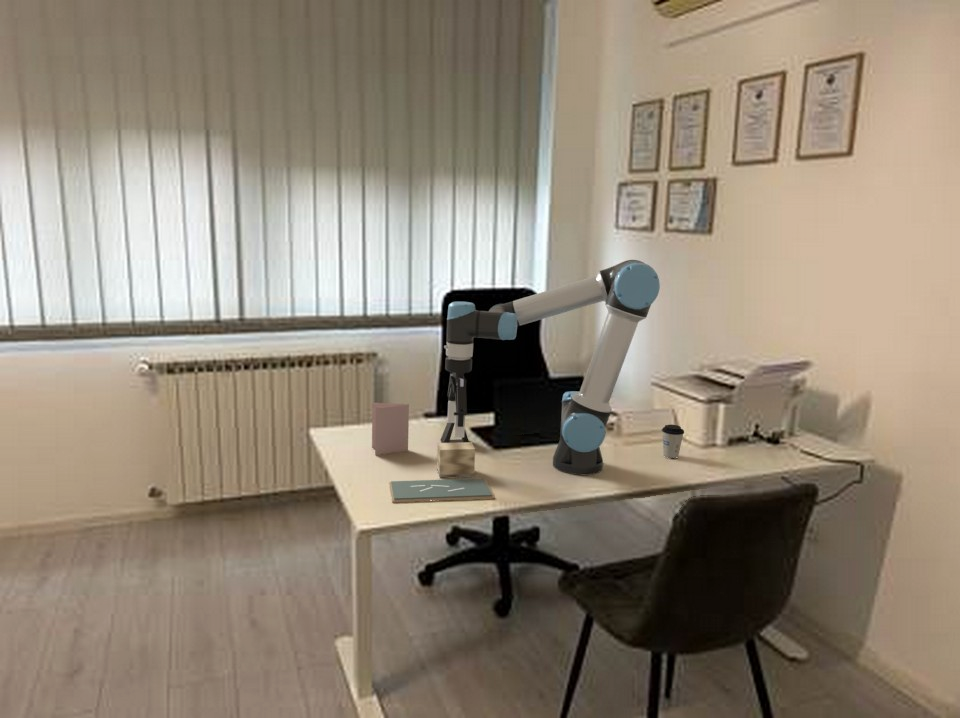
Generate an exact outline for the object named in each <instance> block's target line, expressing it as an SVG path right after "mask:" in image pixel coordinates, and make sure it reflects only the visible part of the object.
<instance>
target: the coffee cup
mask: <svg viewBox="0 0 960 718" xmlns="http://www.w3.org/2000/svg"><path fill="white" fill-rule="evenodd" d="M661 431H662V454H663V455H662V456H663V457H664V456H665V457H668V458H676V457H678V458H679V455H680V452H681V451H680V449H681V447H682V446H681V445H682V440H683V436H684V434H685V430H684V429H683V428H682V427H681V425H677V424H665V425H664V427H662V429H661ZM665 457H664V458H665ZM668 458H667V459H668Z"/></svg>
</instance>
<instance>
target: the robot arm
mask: <svg viewBox="0 0 960 718" xmlns="http://www.w3.org/2000/svg"><path fill="white" fill-rule="evenodd" d="M660 286H661V284H660V278H659V275H658V274H657V272H656V270H655V269H654V268H653V267H652V266H651V265H649V264H646V263H645V262H643V261H641V260H638V259H628V260H627V259H626V260H624V261H622V262H620V263H617V264H615V265H613V266H609V267H608V268H604V269H602V270H598V272H597V273H596V274H595V275H594V276H590V277H587V278H585V279H580V280H578V281H574V282H571V283H568V284H564V285H562V286H559V287H555V288H552V289H548V290H546V291H541V292H538V293H535V294H532V295H529V296H525V297H522V298H519V299H515V300H513V301H510V302H505V303H498V304H495V305H493V306H492V307H490V309H488V311H487V310H477V309H476V305H475V303H474V302H469V301H452V302H451V303H449V304H448V309H447V318H446V340H445V341H446V345H444V346H443V348H444V349H445V355H446V357H445V363H444V364H445V365H444V366H445V367H444V369H445V370H446V372H447V373H449V380H448V381H449V382H448V390H447V400H448V402H447V422H448V423H455V424H454V429H453V430H454V432H453V437H454V438H462V437H464V432H465V431H466V428H465V427H466V416H467V415H468V408H467V407H468V403H467V382H468V381H467V379H466V378H465V376H464V375H465V374H466V373H467V374H469V373H470V372H471V371H473V359H472V358H473V353H474V338H477V339H479V338H481V339H489V340H490V339H492V340H502V341H505V340H506V341H507V340H508V341H511V340H515V339H516V337H517V332H518V331H517V330H518V327H520V326H523V325H527V324H529V323H533V322H537V321H539V320H544V319H547V318H551V317H554V316H558V315H561V314H563V313H564V314H565V313H568V312H570V311H575V310H577V309H580V308H583V307H584V308H585V307H587V306H591V305H594V304H598V303H601V302H605V304H604V305H605V307H606V309H607V314H606V317H605V319H604V322H603V326H602V329H601V330H600V334H599V337H598V340H597V341H596V344H595V347H594V351H593V353H592V356H591V360H590V361H589V364H588V367H587V370H586V373H585V375H584V378H583V380H582V384H581V386H580V389H579V391H573V390H572V391H565V392H564V393H563V395H562V400H561V418H560V419H561V420H560V430H559V431H560V433H559V434H560V435H559V442H558V444H557V447H556V448H555V451H554V453H553V456H552V467H554V468H555V469H556V470H558V471H560V472H563V473H567V474H573V475H581V474H586V475H593V473H594V474H597V472H598V473H600V472H602V470H603V469H604V459H603V455H602V450H601V447H600V446H601V445H602V444H603V442H604V440H605V437H606V427H607V424H608V421H609V419H610V417H611V413H612V411H613V409H612V407H611V404H610V400H611V398H612V394H613V393H614V389H615V387H616V384H617V381H618V378H619V377H620V374H621V370H622V368H623V365H624V362H625V359H626V357H627V355H628V352H629V349H630V346H631V344H632V340H633V338H634V335H635V333H636V331H637V327H638V324H639V322H641V321H643V320H645V319H647V317H648V314H649V311H650V309H651V306H652V304H653V303H654V302H655V301H656V299H657V298H658V296H659V293H660ZM447 422H446V423H447ZM602 468H603V469H602ZM599 471H600V472H599Z"/></svg>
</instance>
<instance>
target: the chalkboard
mask: <svg viewBox="0 0 960 718" xmlns="http://www.w3.org/2000/svg"><path fill="white" fill-rule="evenodd" d="M388 484H389V485H390V486H389V485H388V486H389V491H390V498H391V497H392V498H391V502H392V504H395V503H396V502H400V503H415V502H414V501H427V502H434V501H433V500H454V501H468V500H467V499H480V500H494V499H495V496H494V493H493V492H492V490H491V487H490V486H489V484H488V482H487V480H486V478H483V477H482V478H481V477H480V478H455V479H451V478H450V479H449V478H447V479H423V480H421V479H420V480H419V479H417V480H394V481H393V480H391V481H389V482H388ZM430 500H432V501H430Z"/></svg>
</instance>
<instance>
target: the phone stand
mask: <svg viewBox="0 0 960 718" xmlns="http://www.w3.org/2000/svg"><path fill="white" fill-rule="evenodd" d="M454 429H455V423H448V422H446V425H445V427H444V431H443V432H442V434H441V438H440V443H461V442H470V440H469V438H468V435H467V432H466V430H465V432H464V437H461V439H459V438H458V439H457V438H456V439H451V437H452V434H453V430H454Z"/></svg>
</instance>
